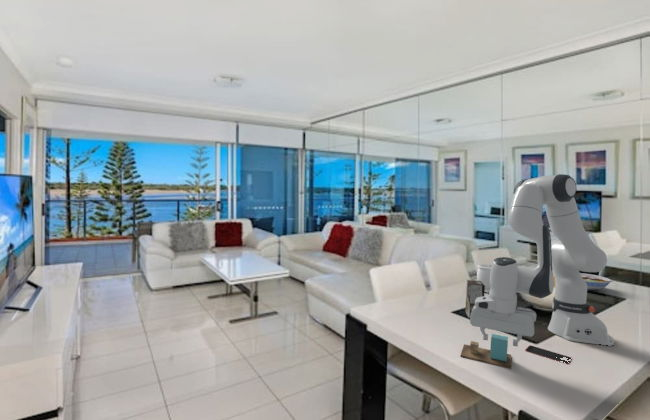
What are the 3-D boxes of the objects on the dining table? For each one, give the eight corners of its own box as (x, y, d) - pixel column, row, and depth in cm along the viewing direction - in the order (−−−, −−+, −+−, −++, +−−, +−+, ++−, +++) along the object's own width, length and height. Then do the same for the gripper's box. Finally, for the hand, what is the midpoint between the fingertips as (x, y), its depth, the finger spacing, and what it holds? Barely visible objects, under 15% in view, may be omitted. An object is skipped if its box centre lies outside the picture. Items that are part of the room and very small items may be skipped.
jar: (472, 288, 212) (473, 264, 210) (486, 287, 215) (487, 263, 214) (485, 294, 201) (486, 268, 200) (499, 293, 205) (501, 267, 203)
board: (511, 356, 127) (511, 345, 126) (510, 368, 118) (511, 357, 118) (464, 345, 134) (464, 335, 134) (460, 356, 126) (461, 345, 125)
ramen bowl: (609, 288, 222) (610, 275, 221) (615, 297, 203) (616, 283, 202) (562, 281, 235) (563, 269, 235) (563, 289, 216) (564, 276, 215)
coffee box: (483, 319, 162) (485, 285, 161) (468, 318, 163) (470, 284, 162) (478, 312, 171) (480, 280, 170) (464, 311, 172) (466, 279, 171)
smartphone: (569, 364, 122) (524, 350, 131) (568, 366, 122) (524, 351, 131) (572, 357, 127) (529, 344, 136) (572, 359, 127) (529, 346, 136)
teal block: (506, 355, 125) (508, 336, 125) (506, 361, 121) (507, 342, 120) (490, 351, 128) (491, 333, 127) (489, 357, 123) (491, 339, 123)
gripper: (536, 307, 121) (533, 345, 122) (472, 297, 130) (470, 333, 131) (537, 312, 115) (534, 353, 116) (470, 301, 125) (468, 339, 126)
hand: (500, 342), depth 124 cm, fingers open, 8 cm apart
